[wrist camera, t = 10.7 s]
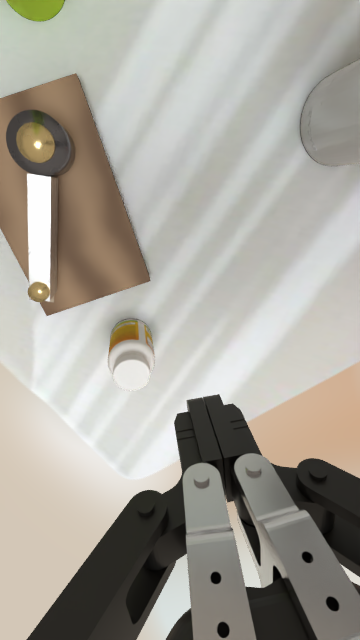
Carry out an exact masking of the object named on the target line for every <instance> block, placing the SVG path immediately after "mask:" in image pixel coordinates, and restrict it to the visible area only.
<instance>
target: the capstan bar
mask: <svg viewBox="0 0 360 640" xmlns="http://www.w3.org/2000/svg"><path fill="white" fill-rule="evenodd" d="M6 143H7V147H8V150H9V153H10V155H11V156H12V158H13V160H14V161H15V162H16V163H17V164H18V165H19V166H20V167H21V168H22V169H24V170H25V171H27V172H29V173H31V174H28V173H27V192H28V246H29V289H28V295H29V299H30V300H34V301H36V302H43V301H51V299H52V298H53V296H54V295H55V293H56V292H57V236H58V178H56V176H60V175H63V174H65V173H66V172H67V171H68V170H69V169H70V168H71V167H72V165H73V163H74V160H75V145H74V142H73V139H72V137H71V135H70V134H69V132H68V131H67V130H66V129H65V128H64V127H63V126H62V125H61V124H59V123H58V122H57V121H56V120H55V119H54V118H52V117H51V116H50V115H48V114H46V113H44V112H42V111H38V110H24V111H22V112H19V113H18V114H16V115H15V116H14V117H13V118H12V119H11V121H10V122H9V124H8V127H7V131H6ZM49 176H51V177H49Z"/></svg>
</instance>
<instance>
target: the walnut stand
mask: <svg viewBox="0 0 360 640" xmlns="http://www.w3.org/2000/svg"><path fill="white" fill-rule="evenodd" d="M24 110H38V111H42V112H44V113H46V114H48V115H50V116H51V117H52V118H54V119H55V120H56V121H57V122H58V123H59V124H61V125H62V126H63V127H64V128H65V129H66V130H67V131H68V132H69V134H70V135H71V137H72V139H73V142H74V145H75V160H74V163H73V165H72V167H71V168H70V169H69V170H68V171H67V172H66V173H65V174H63V175H60V176H56V178H58V236H57V292H56V293H55V295H54V296H53V298H52V299H51V301H43V302H40V304H41V306H42V308H43V310H44V311H45V313H46V315H47V316H48V315H51V314H54V313H57V312H60V311H63V310H66V309H69V308H72V307H75V306H78V305H81V304H84V303H87V302H90V301H93V300H96V299H98V298H101V297H104V296H107V295H110V294H113V293H116V292H119V291H122V290H125V289H128V288H131V287H134V286H137V285H140V284H143V283H146V282H149V281H150V276H149V274H148V271H147V268H146V265H145V262H144V260H143V257H142V254H141V251H140V248H139V246H138V243H137V240H136V237H135V234H134V232H133V229H132V226H131V223H130V221H129V218H128V215H127V212H126V209H125V207H124V204H123V201H122V198H121V195H120V193H119V190H118V187H117V184H116V181H115V179H114V176H113V173H112V170H111V167H110V165H109V162H108V159H107V156H106V153H105V151H104V148H103V145H102V142H101V139H100V137H99V134H98V131H97V128H96V126H95V123H94V120H93V117H92V114H91V112H90V109H89V106H88V103H87V100H86V98H85V95H84V92H83V89H82V86H81V84H80V81H79V78H78V76H77V74H73V75H70V76H67V77H63V78H60V79H57V80H54V81H51V82H48V83H45V84H42V85H39V86H36V87H33V88H30V89H27V90H24V91H21V92H18V93H15V94H12V95H9V96H6V97H3V98H0V228H1V230H2V232H3V234H4V236H5V238H6V240H7V242H8V243H9V245H10V247H11V249H12V251H13V253H14V255H15V257H16V259H17V260H18V262H19V264H20V266H21V268H22V270H23V272H24V274H25V276H26V277H27V279H28V281H29V246H28V192H27V173H28V174H31V173H29V172H27V171H25V170H24V169H22V168H21V167H20V166H19V165H18V164H17V163H16V162H15V161H14V160H13V158H12V156H11V155H10V153H9V150H8V147H7V143H6V131H7V127H8V124H9V122H10V121H11V119H12V118H13V117H14V116H15V115H16V114H18V113H19V112H22V111H24ZM49 177H51V176H49Z"/></svg>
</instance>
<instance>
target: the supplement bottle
mask: <svg viewBox="0 0 360 640" xmlns="http://www.w3.org/2000/svg"><path fill="white" fill-rule="evenodd" d="M154 364H155V356H154V349H153V342H152V335H151V332H150V329H149V328H148V326H147V325H146V324H145V323H143V322H142V321H139V320H136V319H127V320H123V321H121V322H119V323H118V324H117V325H116V326H115V327H114V329H113V330H112V333H111V338H110V347H109V355H108V367H109V370H110V372H111V373H112V375H113V380H114V382H115V384H116V385H117V386H118V387H119V388H121V389H123V390H127V391H135V390H139V389H141V388H143V387H144V386H145V385H146V384H147V383H148V381H149V379H150V374H151V372H152V371H153V368H154Z"/></svg>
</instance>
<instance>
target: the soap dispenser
mask: <svg viewBox="0 0 360 640" xmlns="http://www.w3.org/2000/svg"><path fill="white" fill-rule="evenodd" d="M6 1H7V2H8V4H9V5H10V6H11V7H12V8H13V9H14V10H15V11H16V12H17V13H18V14H20V15H21V16H23V17H25V18H27V19H29V20H33V21H46V20H49V19H51V18H52V17H54V16H55V15H56V14H57V13H58V12H59V11H60V10H61V8H62V6H63V4H64V1H65V0H6Z"/></svg>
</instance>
